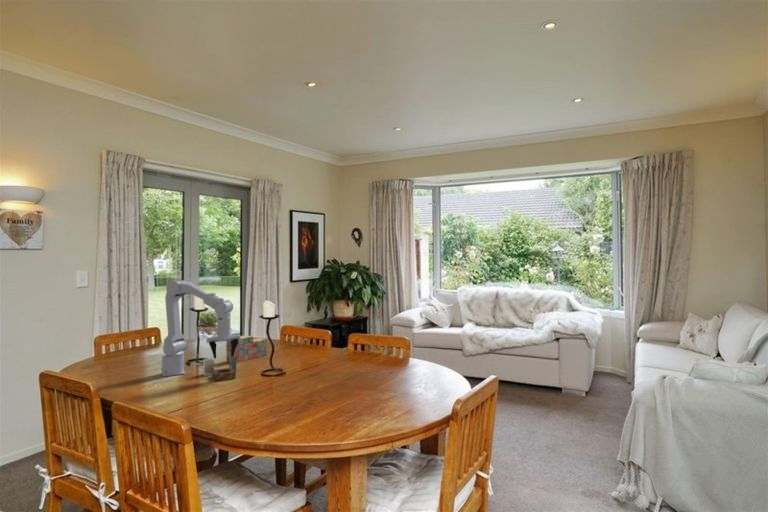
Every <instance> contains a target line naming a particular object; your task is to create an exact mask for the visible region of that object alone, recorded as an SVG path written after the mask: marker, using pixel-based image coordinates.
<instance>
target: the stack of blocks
mask: <svg viewBox="0 0 768 512" xmlns="http://www.w3.org/2000/svg"><path fill="white" fill-rule="evenodd" d="M238 341H239V342H238V344H237V346H236V349H235V352H234V356H235V357H236V364H237V363H240V362H245V361H249V360H254V359H257V358H258V359H259V358H261V357H266V356H267V339H266V338H260V337H258V338H254V336H253V335H245V334H244V335H240V340H238ZM225 346H226V362H228V363H229V356H231V341H226V345H225Z"/></svg>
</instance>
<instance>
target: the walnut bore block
mask: <svg viewBox="0 0 768 512" xmlns="http://www.w3.org/2000/svg"><path fill="white" fill-rule="evenodd" d="M236 373H237V371H236V372H235V371H234V370H233V369H232V368H229V367H226V368H218V369H214V370H212V375H211V377H212V378H213V379H214V380H215V381H214V382H221V381H225V380H226V381H228V380H234V379H236V378H237V377H236V376H237V375H236Z"/></svg>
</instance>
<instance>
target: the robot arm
mask: <svg viewBox="0 0 768 512" xmlns="http://www.w3.org/2000/svg"><path fill="white" fill-rule="evenodd" d="M165 288H166V290H165V291H166V293H165V296H164V299H165V300H164V301H165V312H166V324H167V326H166V327H167V336H165V339H164V340H163V346H162V350H163V353H164V354H165V355H162V356H161V368H160V370H161V371H160V372H161V375H162V377H172V376H179V375H185V374H186V371H185V370H184V369H185V368H184V366H185V363H184V362H185V360H184V359H185V358H184V355H185V352H186V351H187V348H188V343H187V339H186V336H185V335H184V334H183V333H182V328H181V326H182V325H181V315H180V305H179V304H180V303H179V301H180V299H181V298H182V297H183V296H186V295H187V294H191V295H192V296H194V297H197V298H199V299H201V300H202V302H203V304H204V305H206V306H208V307H210V308H211V309H213V310H214V312H215V314H216V317H217V318H216V320H217V321H216V322H217V323H216V325H217V326H216V329H217V330H216V336H213V337H206V344H209V346H210V349H211V352H212V355H213V356H212V357H213V359H217V343H218V342H219V343H221V342H227V341H231V356H234V352H235V349H236V346H237V344H238V342H239V341H238V340H240V336H241V335H240V334H239V335H238V334H236V335H235V334H234V335H231V312H233V309H234V304H233V303H232V301H231V300H229V299H227V300H224V298H223V297H220V296H218V295H216V293H215V292H206V291H205V290H204V289H201V288H200V287H198V286H197V285H196V284H194V282H192V281H190V280H188V279H185V280H172V281H169V283H168V284H167V285H166V286H165ZM216 342H217V343H216Z"/></svg>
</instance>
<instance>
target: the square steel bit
mask: <svg viewBox="0 0 768 512" xmlns="http://www.w3.org/2000/svg"><path fill="white" fill-rule="evenodd" d="M202 361H203V362H202V374H203V376H204V377H208V376H212V370H215V359H214V358H212V357H211V358H203V359H202Z"/></svg>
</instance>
